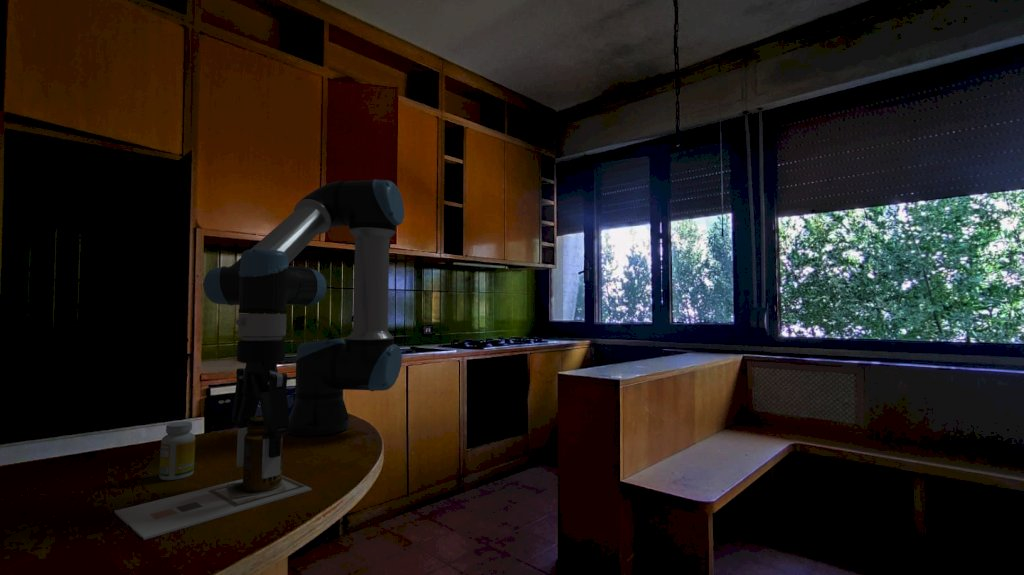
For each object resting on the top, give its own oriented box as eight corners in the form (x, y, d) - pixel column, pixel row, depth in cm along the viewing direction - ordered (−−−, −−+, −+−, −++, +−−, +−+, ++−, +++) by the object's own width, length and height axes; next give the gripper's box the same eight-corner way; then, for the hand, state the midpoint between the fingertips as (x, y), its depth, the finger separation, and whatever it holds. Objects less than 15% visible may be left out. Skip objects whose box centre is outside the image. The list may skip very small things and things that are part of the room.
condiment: (286, 489, 84) (288, 418, 85) (229, 499, 80) (232, 424, 80) (280, 477, 90) (282, 411, 91) (226, 486, 86) (229, 416, 86)
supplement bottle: (154, 482, 89) (156, 427, 89) (165, 472, 94) (167, 421, 94) (188, 479, 90) (190, 426, 91) (198, 470, 95) (200, 419, 96)
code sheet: (272, 473, 94) (272, 471, 94) (311, 490, 85) (311, 488, 85) (114, 512, 75) (114, 510, 75) (143, 539, 66) (144, 537, 66)
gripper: (213, 336, 90) (208, 463, 89) (269, 342, 76) (265, 490, 75) (255, 335, 96) (251, 453, 95) (315, 340, 82) (311, 478, 81)
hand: (257, 470), depth 85 cm, fingers open, 9 cm apart
